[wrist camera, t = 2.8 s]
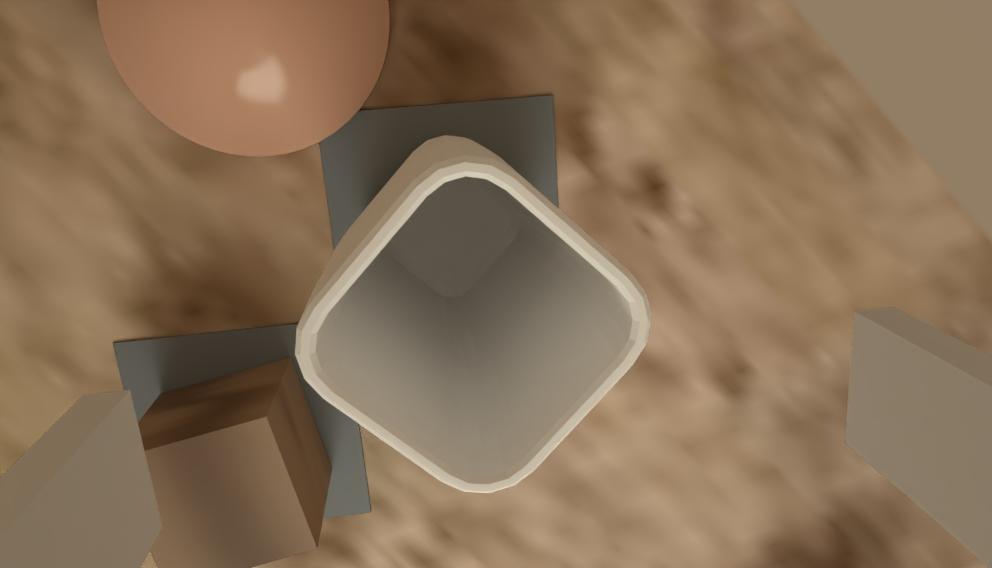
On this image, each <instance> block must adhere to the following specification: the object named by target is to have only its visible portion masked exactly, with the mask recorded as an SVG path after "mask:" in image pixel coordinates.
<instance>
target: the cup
mask: <svg viewBox="0 0 992 568" xmlns="http://www.w3.org/2000/svg"><path fill="white" fill-rule="evenodd" d="M651 319H652V318H651V313H650V308H649V303H648V299H647V294H646V292H645V291H644V290H643V288H642V287H641V286H640V284H639V283H638V281H637V280H636V279H635V277H634V276H633V275H632V273H631V272H629V271H628V270H627V269H626V268H625V267H624V266H623V265H622V264H620V263H619V262H618V261H617V260H616V259H615V258H614V257H613V256H611V255H610V254H609V253H608V252H607V251H606V250H605V249H604V248H602V247H601V246H600V245H599V244H598V243H597V242H596V241H595V240H593V239H592V238H591V237H590V236H589V235H588V234H587V233H585V232H584V231H583V230H582V229H581V228H580V227H579V226H578V225H576V224H575V223H574V222H573V221H572V220H571V219H570V218H568V217H567V216H566V215H565V214H564V213H563V212H562V211H561V210H559V209H558V208H557V207H556V206H555V205H554V204H553V203H551V202H550V201H549V200H548V199H547V198H546V197H545V196H544V195H542V194H541V193H540V192H539V191H538V190H537V189H536V188H534V187H533V186H532V185H531V184H530V183H529V182H528V181H527V180H525V179H524V178H523V177H522V176H521V175H520V174H519V173H517V172H516V171H515V170H514V169H513V168H512V167H511V166H510V165H508V164H507V163H506V162H505V161H504V160H503V159H502V158H500V157H499V156H497V155H496V154H494V153H493V152H492V151H490V150H488V149H487V148H485V147H483V146H481V145H480V144H478V143H476V142H474V141H473V140H471V139H467V138H464V137H457V136H449V135H444V136H440V137H437V138H433V139H430V140H427V141H426V142H424V143H423V144H422V145H421V146H419V147H418V148H417V149H416V150H414V151H413V152H412V154H411V155H410V156H409V157H408V158H407V159H406V161H405V162H404V163H403V164H402V165H401V167H400V168H399V169H398V170H397V171H396V173H395V174H394V175H393V176H392V177H391V179H390V180H389V181H388V182H387V183H386V185H385V186H384V187H383V188H382V189H381V191H380V192H379V193H378V194H377V195H376V197H375V198H374V199H373V200H372V201H371V203H370V204H369V205H368V206H367V207H366V209H365V210H364V211H363V212H362V213H361V215H360V216H359V217H358V218H357V219H356V221H355V222H354V223H353V224H352V225H351V227H350V228H349V229H348V230H347V232H346V233H345V235H344V236H343V238H342V239H341V240H340V242H339V243H338V245H337V246H336V248H335V250H334V251H333V253H332V255H331V257H330V259H329V261H328V263H327V265H326V266H325V268H324V270H323V272H322V274H321V276H320V278H319V280H318V281H317V283H316V285H315V287H314V289H313V291H312V294H311V296H310V298H309V300H308V303H307V305H306V307H305V310H304V312H303V314H302V316H301V319H300V321H299V323H298V326H297V329H296V345H295V356H296V358H297V361H298V364H299V366H300V369H301V372H302V374H303V377H304V379H305V380H306V381H307V382H308V383H309V384H310V386H311V387H312V388H313V389H314V390H315V391H316V392H317V393H318V394H319V395H320V396H321V397H322V398H323V399H324V400H326V401H327V402H329V403H330V404H332V405H333V406H334V407H336V408H337V409H339V410H340V411H341V412H343V413H344V414H346V415H347V416H349V417H350V418H351V419H353V420H354V421H356V422H357V423H359V424H360V425H361V426H363V427H364V428H366V429H367V430H368V431H370V432H371V433H373V434H374V435H376V436H377V437H378V438H380V439H381V440H383V441H384V442H386V443H387V444H388V445H390V446H391V447H393V448H394V449H395V450H397V451H398V452H400V453H401V454H403V455H404V456H405V457H407V458H408V459H410V460H411V461H413V462H414V463H415V464H417V465H418V466H420V467H421V468H423V469H424V470H425V471H427V472H428V473H430V474H431V475H432V476H434V477H435V478H437V479H438V480H440V481H441V482H443V483H445V484H448V485H450V486H452V487H454V488H457V489H459V490H461V491H463V492H479V493H491V492H494V491H498V490H501V489H504V488H508V487H511V486H514V485H515V484H517V483H518V482H520V481H521V480H522V479H524V478H525V477H526V476H528V475H529V474H530V473H532V472H533V471H534V470H535V469H536V468H537V467H538V466H539V465H540V464H541V463H542V462H543V461H544V460H545V459H546V457H547V456H548V455H549V454H550V453H551V452H552V451H553V450H554V449H555V448H556V447H557V446H558V445H559V444H560V442H561V441H562V440H563V439H564V438H565V437H566V436H567V435H568V434H569V433H570V432H571V431H572V430H573V429H574V428H575V426H576V425H577V424H578V423H579V422H580V421H581V420H582V419H583V418H584V417H585V416H586V415H587V414H588V413H589V411H590V410H591V409H592V408H593V407H594V406H595V405H596V404H597V403H598V402H599V401H600V400H601V399H602V398H603V396H604V395H605V394H606V393H607V392H608V391H609V390H610V389H611V388H612V387H613V386H614V385H615V384H616V383H617V382H618V380H619V379H620V378H621V377H622V376H623V375H624V374H625V373H626V372H627V371H628V370H629V369H630V368H631V367H632V365H633V364H634V362H635V361H636V359H637V358H638V356H639V355H640V353H641V351H642V350H643V348H644V347H645V345H646V344H647V339H648V334H649V329H650V324H651Z"/></svg>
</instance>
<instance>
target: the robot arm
mask: <svg viewBox="0 0 992 568" xmlns="http://www.w3.org/2000/svg"><path fill="white" fill-rule="evenodd" d="M845 443H846V444H847V445H848V446H849V447H850V448H852V449H853V450H854V451H855V452H856V453H857V454H858V455H860V456H861V457H862V458H863V459H864V460H865V461H867V462H868V463H869V464H870V465H871V466H872V467H873V468H875V469H876V470H877V471H878V472H879V473H880V474H882V475H883V476H884V477H885V478H886V479H887V480H888V481H890V482H891V483H892V484H893V485H894V486H895V487H897V488H898V489H899V490H900V491H901V492H902V493H903V494H905V495H906V496H907V497H908V498H909V499H910V500H911V501H913V502H914V503H915V504H916V505H917V506H918V507H920V508H921V509H922V510H923V511H924V512H925V513H926V514H928V515H929V516H930V517H931V518H932V519H933V520H935V521H936V522H937V523H938V524H939V525H940V526H941V527H943V528H944V529H945V530H946V531H947V532H948V533H950V534H951V535H952V536H953V537H954V538H955V539H956V540H958V541H959V542H960V543H961V544H962V545H963V546H965V547H966V548H967V549H968V550H969V551H970V552H971V553H973V554H974V555H975V556H976V557H977V558H978V559H980V560H981V561H982V562H983V563H984V564H985V565H986V566H988V567H989V568H992V356H991V355H989V354H987V353H985V352H983V351H981V350H979V349H977V348H975V347H973V346H970V345H968V344H966V343H964V342H962V341H960V340H958V339H956V338H954V337H952V336H950V335H948V334H946V333H944V332H942V331H940V330H938V329H936V328H934V327H932V326H930V325H928V324H926V323H924V322H922V321H920V320H918V319H916V318H914V317H912V316H910V315H908V314H906V313H904V312H902V311H900V310H898V309H896V308H894V307H890V308H881V309H872V310H862V311H855V313H854V326H853V339H852V353H851V366H850V379H849V393H848V406H847V419H846V433H845ZM162 528H163V527H162V522H161V518H160V514H159V510H158V506H157V501H156V497H155V493H154V489H153V485H152V480H151V476H150V472H149V468H148V464H147V459H146V455H145V451H144V447H143V443H142V438H141V434H140V430H139V426H138V422H137V418H136V413H135V409H134V405H133V401H132V397H131V392H130V390H125V391H115V392H106V393H97V394H88V395H83V396H82V397H81V398H80V399H79V400H78V401H77V402H76V403H75V404H74V405H73V406H72V407H71V408H70V409H69V410H68V411H67V412H66V413H65V414H64V415H63V416H62V417H61V418H60V419H59V420H58V421H57V422H56V423H55V424H54V425H53V426H52V427H51V428H50V429H49V430H48V431H47V432H46V433H45V434H44V435H43V436H42V437H41V438H40V439H39V440H38V441H37V442H36V443H35V444H34V445H33V446H32V447H31V448H30V449H29V450H28V451H27V452H26V453H25V454H24V455H23V456H22V457H21V458H20V459H19V460H18V461H17V462H16V463H15V464H14V465H13V466H12V467H11V468H10V469H9V470H8V471H6V472H5V473H4V474H3V475H2V476H1V477H0V568H141V566H142V564H143V562H144V561H145V559H146V557H147V555H148V553H149V551H150V550H151V548H152V546H153V544H154V542H155V540H156V539H157V537H158V535H159V533H160V531H161V529H162Z"/></svg>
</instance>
